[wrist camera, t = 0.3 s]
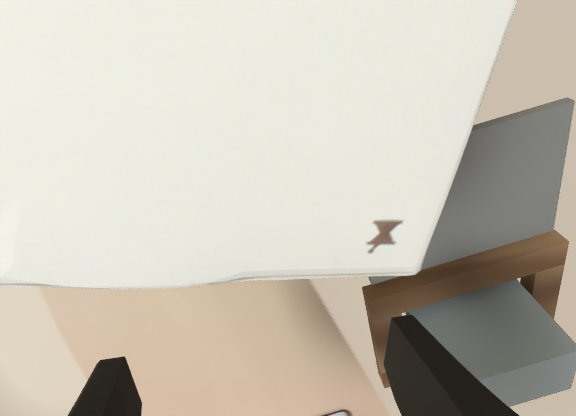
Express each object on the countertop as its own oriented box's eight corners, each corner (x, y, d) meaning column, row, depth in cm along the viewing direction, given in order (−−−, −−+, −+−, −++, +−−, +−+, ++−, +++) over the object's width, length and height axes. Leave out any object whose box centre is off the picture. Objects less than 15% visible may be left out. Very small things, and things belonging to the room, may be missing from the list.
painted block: (506, 309, 28) (570, 388, 23) (408, 339, 28) (452, 423, 23) (510, 272, 26) (581, 349, 21) (404, 303, 26) (451, 388, 21)
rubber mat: (547, 225, 24) (553, 230, 24) (368, 278, 24) (371, 284, 24) (567, 97, 20) (574, 100, 19) (348, 162, 20) (351, 167, 19)
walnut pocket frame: (538, 325, 30) (549, 338, 29) (378, 373, 30) (384, 388, 29) (554, 229, 25) (568, 241, 24) (361, 287, 25) (368, 301, 24)
